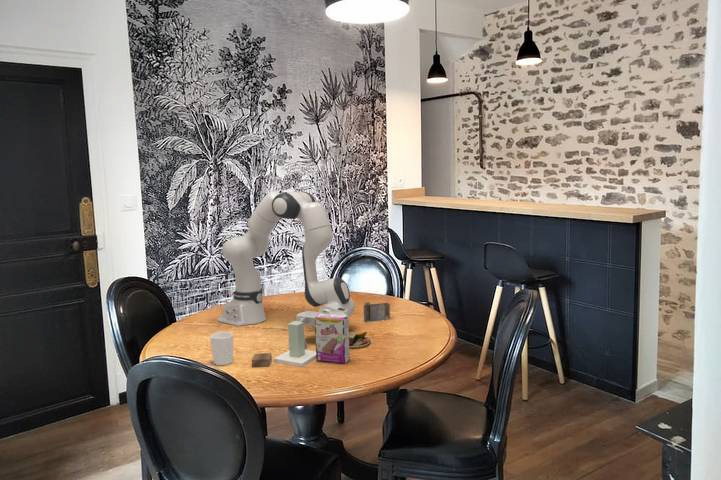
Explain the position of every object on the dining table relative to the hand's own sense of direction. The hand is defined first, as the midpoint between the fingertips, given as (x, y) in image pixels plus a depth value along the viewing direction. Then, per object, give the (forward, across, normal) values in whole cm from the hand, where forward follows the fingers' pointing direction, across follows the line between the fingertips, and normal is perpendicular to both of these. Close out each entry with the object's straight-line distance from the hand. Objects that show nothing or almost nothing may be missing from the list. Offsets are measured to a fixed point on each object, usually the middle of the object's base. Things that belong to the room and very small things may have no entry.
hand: (310, 325), depth 198 cm
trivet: (+10, 0, +10) cm, 14 cm away
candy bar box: (+7, +13, +10) cm, 18 cm away
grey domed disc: (0, -6, +10) cm, 11 cm away
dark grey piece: (-44, +7, +10) cm, 45 cm away
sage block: (+10, 0, +8) cm, 13 cm away
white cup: (+23, -23, +10) cm, 34 cm away
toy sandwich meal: (-12, +11, +10) cm, 19 cm away
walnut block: (+19, -9, +10) cm, 23 cm away
